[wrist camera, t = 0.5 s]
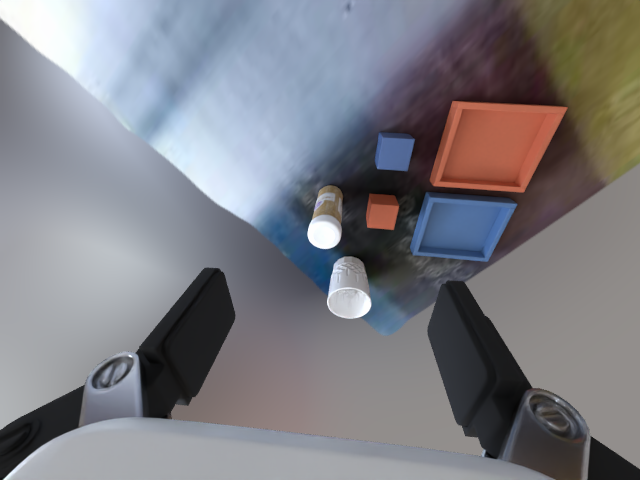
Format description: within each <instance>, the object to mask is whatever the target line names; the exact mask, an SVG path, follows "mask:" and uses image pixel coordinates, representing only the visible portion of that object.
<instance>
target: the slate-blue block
mask: <svg viewBox="0 0 640 480" xmlns="http://www.w3.org/2000/svg"><path fill="white" fill-rule="evenodd" d="M414 141H415V139H414V138H413V137H412V136H410V135H409V134H404V133H387V132H379V137H378V144H377V150H376V156H375V163H376V166H377V169H385V170H400V171H408V167H409V162H410V158H411V154H412V150H413V145H414Z"/></svg>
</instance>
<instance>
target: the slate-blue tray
mask: <svg viewBox="0 0 640 480" xmlns="http://www.w3.org/2000/svg"><path fill="white" fill-rule="evenodd" d="M516 206H517V203H516V202H514V201H513V200H511V199H510V198H505V197H491V196H477V195H464V194H450V193H437V192H426V194H425V197H424V201H423V204H422V208H421V211H420V215H419V218H418V222H417V225H416V228H415V232H414V235H413V239H412V242H411V246H410V249H411V252H412V254H413V255H419V256H431V257H442V258H453V259H464V260H475V261H486V262H488V260H489V258H490V256H491V254H492V252H493V250H494V248H495V246H496V245H497V243H498V241H499V239H500V237H501V235H502V233H503V231H504V229H505V227H506V225H507V223H508V221H509V220H510V218H511V216H512V214H513V212H514V210H515V208H516Z"/></svg>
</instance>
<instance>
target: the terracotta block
mask: <svg viewBox="0 0 640 480" xmlns="http://www.w3.org/2000/svg"><path fill="white" fill-rule="evenodd" d="M398 209H399V205H398V202H397V200H396V197H395V196H394V195H381V194H369V201H368V207H367V213H366V219H367V227H368V228H380V229H392V230H394V226H395V222H396V217H397V213H398Z"/></svg>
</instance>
